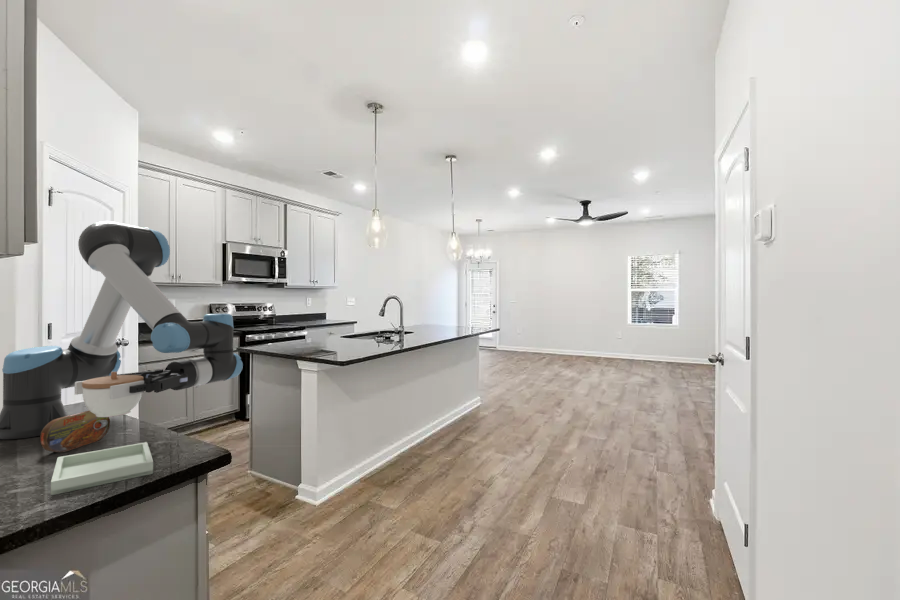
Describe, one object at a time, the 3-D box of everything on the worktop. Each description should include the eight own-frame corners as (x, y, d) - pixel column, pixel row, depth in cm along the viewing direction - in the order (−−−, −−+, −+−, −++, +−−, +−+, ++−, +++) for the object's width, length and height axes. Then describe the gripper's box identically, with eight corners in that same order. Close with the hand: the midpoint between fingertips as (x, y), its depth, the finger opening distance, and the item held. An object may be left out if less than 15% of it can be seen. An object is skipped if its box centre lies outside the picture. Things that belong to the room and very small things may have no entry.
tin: (47, 457, 98) (47, 422, 98) (36, 456, 99) (37, 421, 99) (110, 437, 113) (111, 406, 113) (101, 436, 113) (102, 405, 113)
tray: (57, 468, 91) (57, 457, 91) (146, 452, 102) (147, 441, 102) (50, 495, 79) (50, 481, 79) (153, 473, 90) (153, 461, 90)
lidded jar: (141, 415, 91) (141, 373, 91) (76, 423, 85) (77, 378, 85) (144, 405, 100) (145, 366, 100) (86, 411, 94) (87, 370, 94)
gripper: (221, 391, 106) (130, 413, 85) (156, 384, 113) (58, 403, 92) (221, 362, 106) (131, 376, 85) (156, 357, 113) (58, 369, 92)
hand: (93, 390), depth 89 cm, fingers closed on lidded jar, 11 cm apart
